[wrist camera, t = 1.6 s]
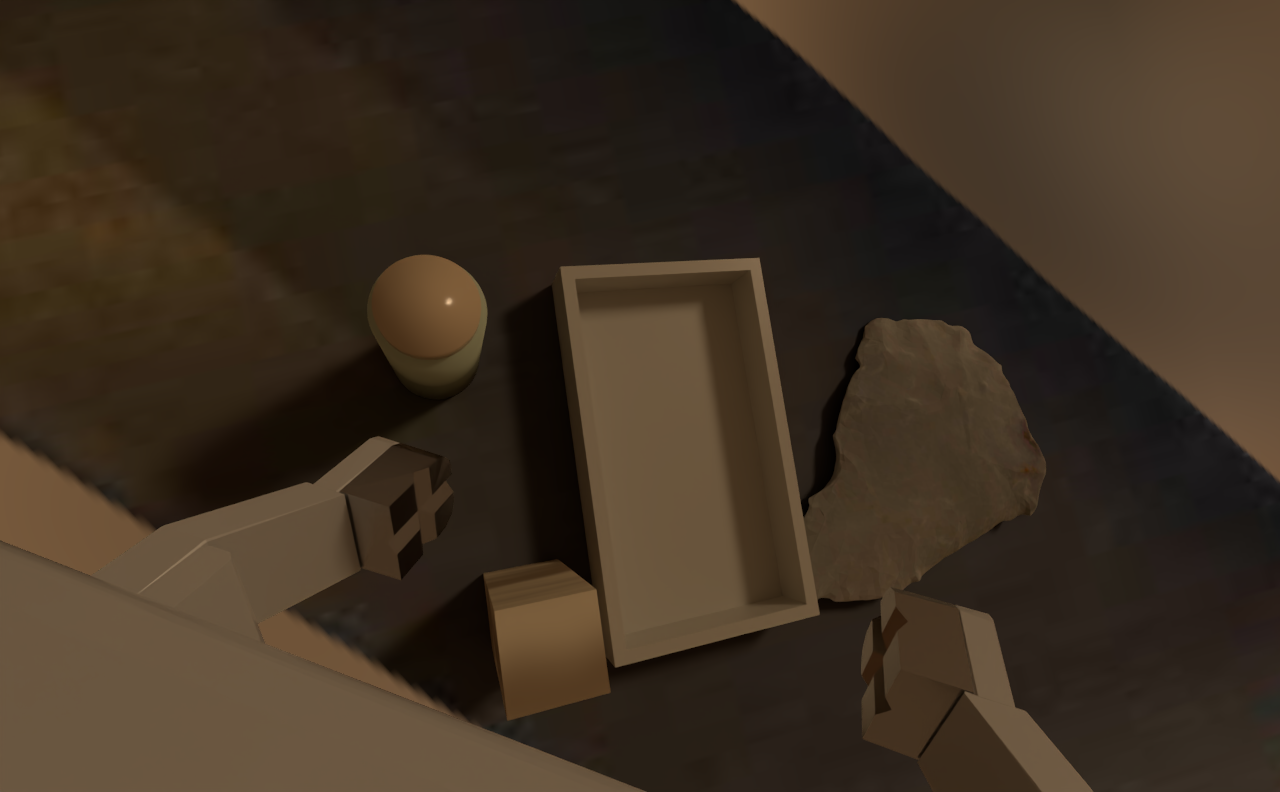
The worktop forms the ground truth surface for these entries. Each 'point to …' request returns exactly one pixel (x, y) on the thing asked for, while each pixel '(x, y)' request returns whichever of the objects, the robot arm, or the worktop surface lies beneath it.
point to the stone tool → (918, 460)
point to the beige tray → (681, 454)
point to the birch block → (545, 637)
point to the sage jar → (429, 324)
